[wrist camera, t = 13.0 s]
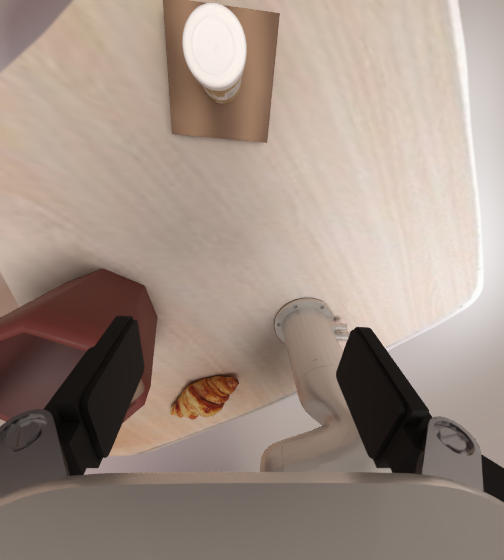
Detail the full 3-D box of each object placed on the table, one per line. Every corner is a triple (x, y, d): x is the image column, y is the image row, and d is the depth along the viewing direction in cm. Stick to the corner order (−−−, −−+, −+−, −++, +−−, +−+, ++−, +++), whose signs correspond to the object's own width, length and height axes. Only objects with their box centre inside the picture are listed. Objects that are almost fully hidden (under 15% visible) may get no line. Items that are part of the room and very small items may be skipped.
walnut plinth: (274, 26, 30) (279, 13, 26) (263, 141, 36) (267, 142, 32) (171, 13, 29) (162, -4, 25) (178, 133, 35) (172, 133, 31)
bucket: (58, 344, 53) (-61, 490, 31) (20, 248, 42) (-207, 371, 20) (177, 347, 55) (141, 484, 34) (171, 257, 44) (111, 376, 23)
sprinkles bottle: (194, 79, 29) (167, 43, 17) (221, 43, 27) (212, -23, 16) (223, 114, 31) (216, 103, 19) (250, 82, 29) (260, 49, 18)
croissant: (183, 399, 70) (187, 430, 66) (154, 399, 62) (157, 435, 58) (243, 367, 64) (252, 399, 60) (220, 364, 56) (229, 400, 52)
